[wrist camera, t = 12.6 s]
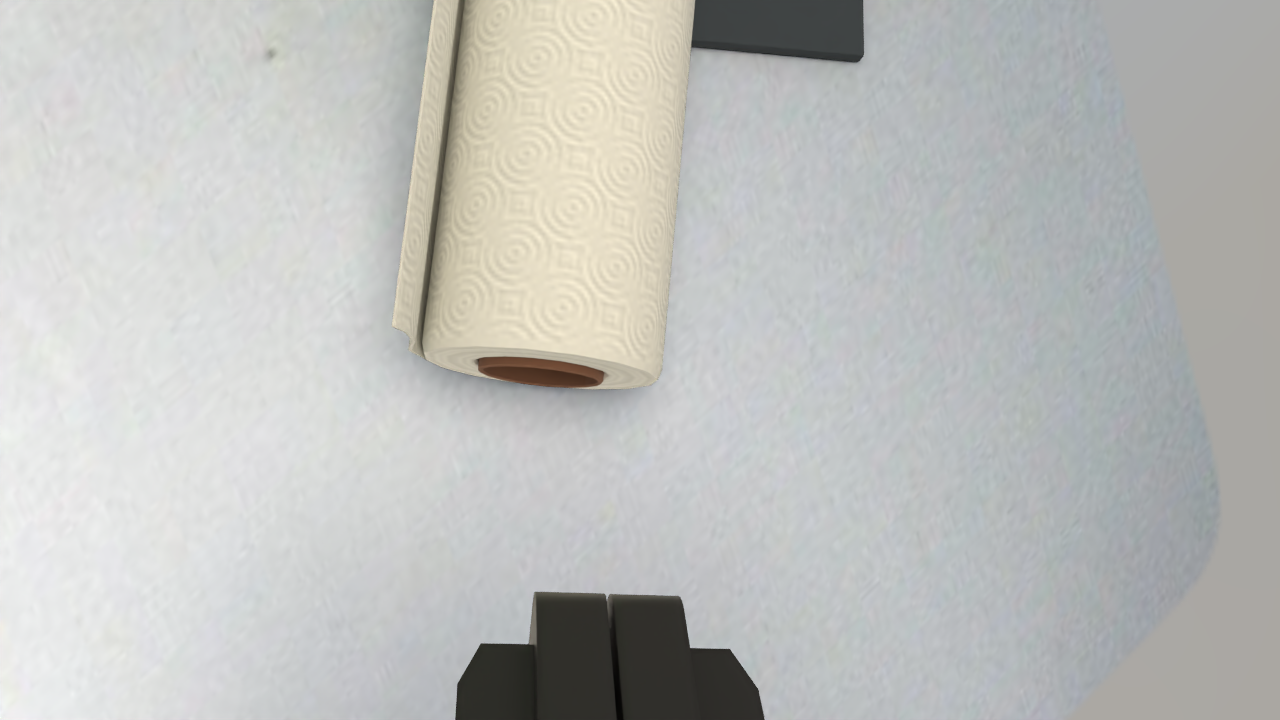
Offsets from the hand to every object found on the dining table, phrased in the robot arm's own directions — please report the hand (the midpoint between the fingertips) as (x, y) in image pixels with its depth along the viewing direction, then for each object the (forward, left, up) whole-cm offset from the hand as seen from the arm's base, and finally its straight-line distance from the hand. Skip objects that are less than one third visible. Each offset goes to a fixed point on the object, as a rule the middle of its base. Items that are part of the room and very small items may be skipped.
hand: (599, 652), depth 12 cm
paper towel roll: (0, -5, -17) cm, 17 cm away
